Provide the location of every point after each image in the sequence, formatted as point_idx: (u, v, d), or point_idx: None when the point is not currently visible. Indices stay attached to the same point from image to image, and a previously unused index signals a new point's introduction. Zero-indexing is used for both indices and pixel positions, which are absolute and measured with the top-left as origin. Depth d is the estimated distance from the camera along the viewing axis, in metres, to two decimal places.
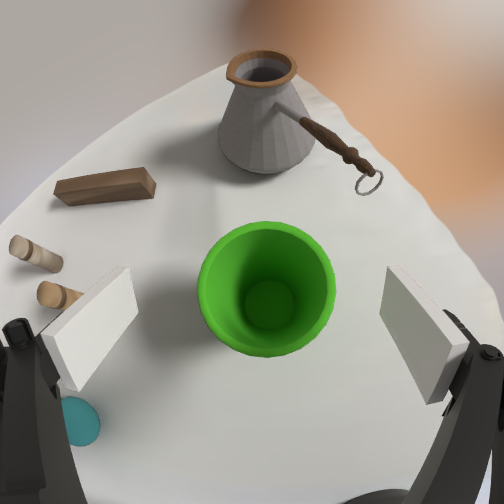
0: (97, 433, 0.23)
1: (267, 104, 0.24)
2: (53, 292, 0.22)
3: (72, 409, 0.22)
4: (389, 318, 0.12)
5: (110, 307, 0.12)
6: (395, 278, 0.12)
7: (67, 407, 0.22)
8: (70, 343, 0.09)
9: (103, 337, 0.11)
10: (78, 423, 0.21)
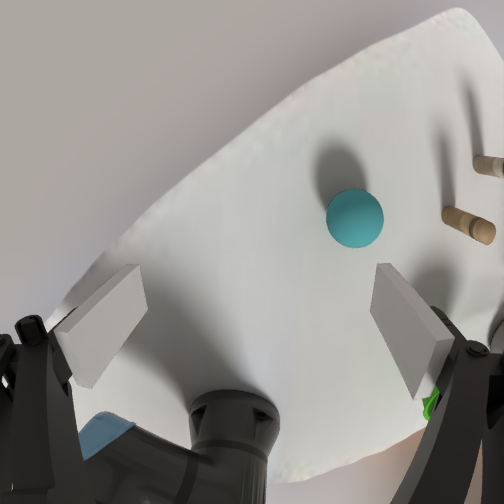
0: None
1: None
2: (486, 243, 0.22)
3: None
4: (378, 315, 0.13)
5: (121, 304, 0.12)
6: (384, 275, 0.12)
7: (380, 228, 0.26)
8: (83, 340, 0.09)
9: (115, 334, 0.11)
10: (366, 243, 0.27)
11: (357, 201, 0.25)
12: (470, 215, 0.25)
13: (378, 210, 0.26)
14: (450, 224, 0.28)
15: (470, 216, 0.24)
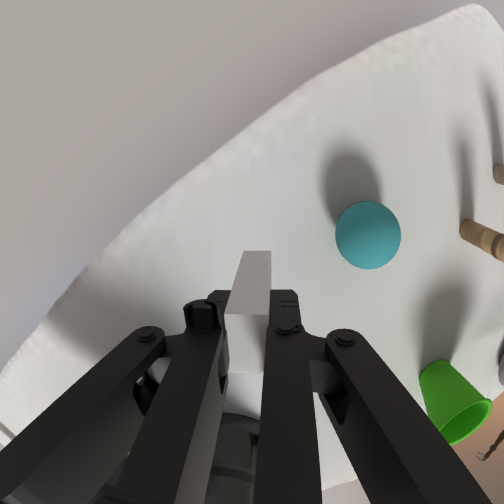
0: None
1: None
2: None
3: (395, 253, 0.23)
4: None
5: None
6: None
7: (397, 247, 0.22)
8: None
9: None
10: (381, 264, 0.23)
11: (373, 216, 0.22)
12: (492, 231, 0.21)
13: (396, 227, 0.22)
14: (469, 240, 0.24)
15: (492, 232, 0.21)
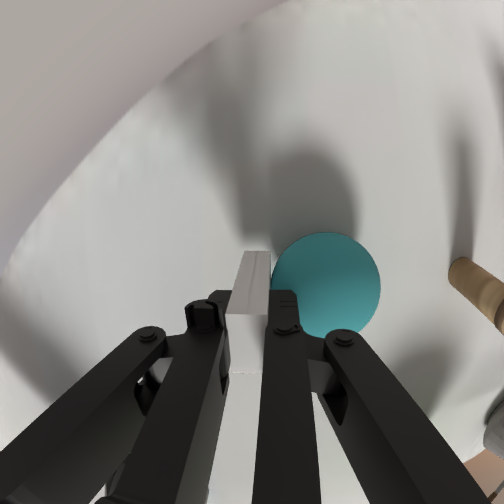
0: None
1: None
2: None
3: None
4: None
5: None
6: None
7: None
8: None
9: None
10: None
11: (352, 263, 0.13)
12: (500, 286, 0.12)
13: None
14: (461, 292, 0.16)
15: (500, 288, 0.12)
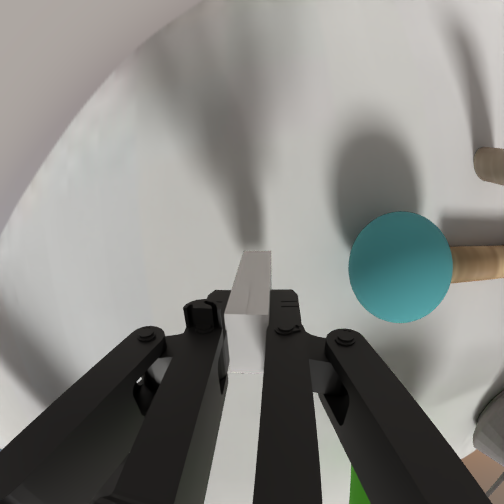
0: None
1: None
2: None
3: None
4: None
5: None
6: None
7: None
8: None
9: None
10: None
11: None
12: (502, 248, 0.15)
13: None
14: (472, 279, 0.15)
15: None
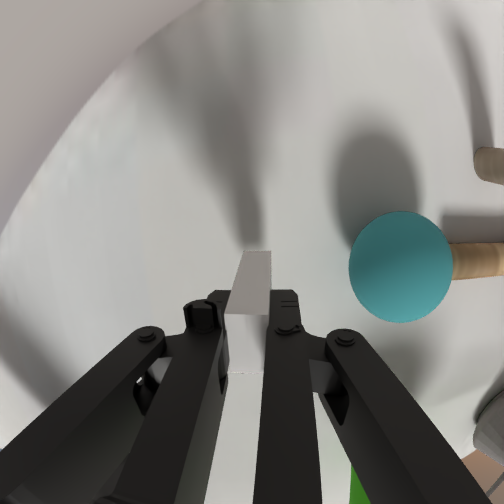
0: None
1: None
2: None
3: None
4: None
5: None
6: None
7: None
8: None
9: None
10: None
11: None
12: (501, 244, 0.15)
13: None
14: (474, 274, 0.15)
15: None
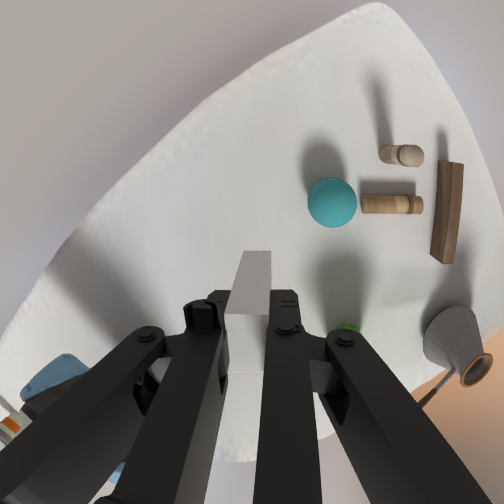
0: None
1: (456, 365, 0.32)
2: (417, 213, 0.34)
3: None
4: None
5: None
6: None
7: None
8: None
9: None
10: None
11: None
12: None
13: None
14: (379, 209, 0.34)
15: (401, 196, 0.34)
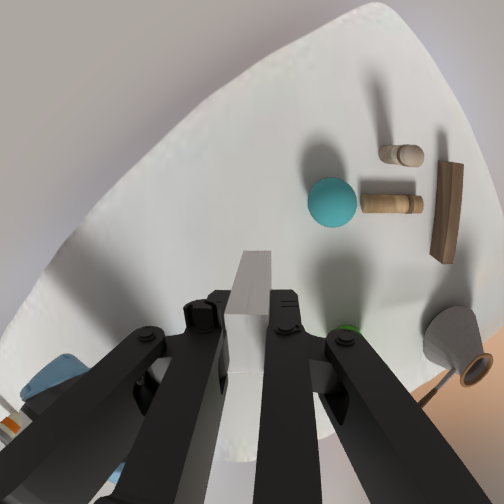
0: None
1: (456, 365, 0.32)
2: None
3: None
4: None
5: None
6: None
7: None
8: None
9: None
10: None
11: None
12: (399, 195, 0.34)
13: None
14: (379, 208, 0.34)
15: (400, 195, 0.34)
